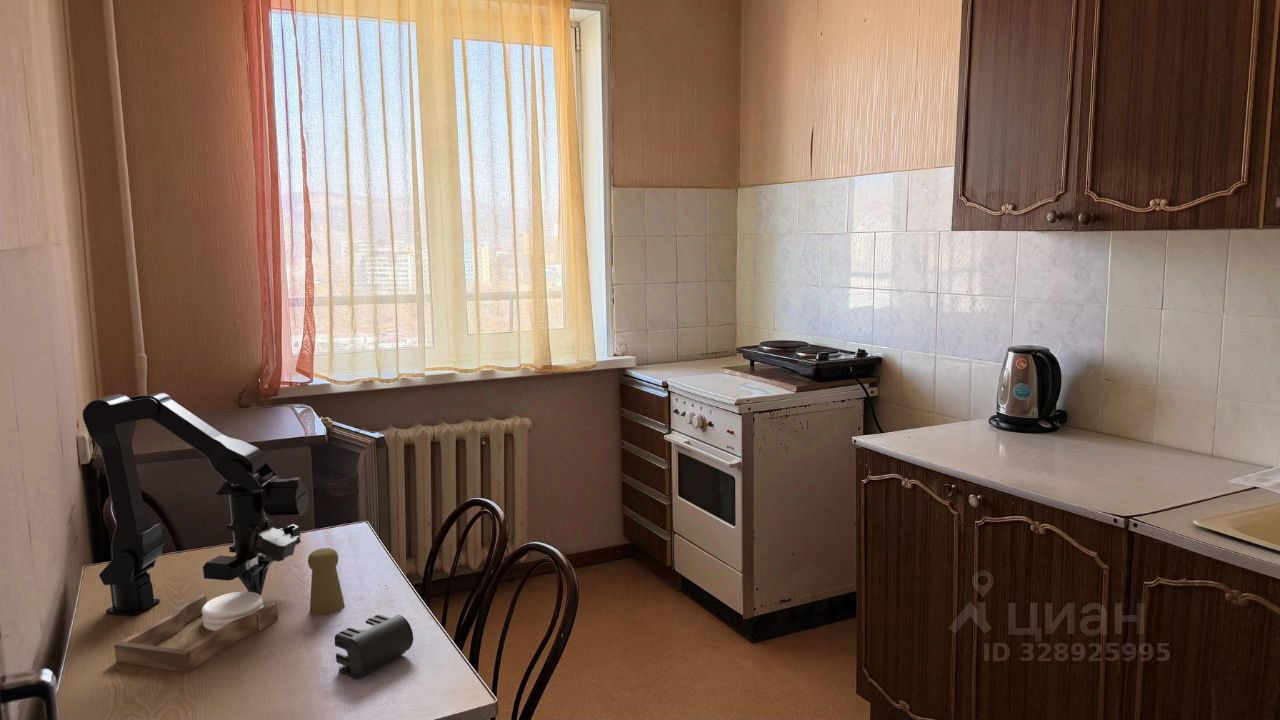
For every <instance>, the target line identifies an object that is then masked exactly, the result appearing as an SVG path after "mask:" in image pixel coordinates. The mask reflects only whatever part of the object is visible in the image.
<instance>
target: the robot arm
mask: <svg viewBox="0 0 1280 720" xmlns="http://www.w3.org/2000/svg"><path fill="white" fill-rule="evenodd" d="M82 419H83V420H82V421H83V423H84V425H85V427H86V430H87V433H88V435H89V437H90V438H91V439H92V440H93V442H94V443H95V444H96V445H97V446H98V447H99V449H100V452H101V455H102V460H103V466H104V470H105V471H104V472H105V476H106V479H107V480H106V481H107V485H108V490H109V495H110V500H111V503H112V505H111V506H112V510H113V515H114V519H115V529H114V533H113V536H112V540H111V561H110V562H108V564H107V565H106V566H105V567H104V569H103V570H102V571H101V572H100V573H99V579H100V580H101V582H102V584H103V585H104V586H106V585H107V586H110V595H111V604H112V606H111V607H108V608H106V609H105V613H106V614H114V615H122V616H128V617H129V616H130V617H131V616H132V617H133V616H135V615H138V614H139V613H141V612H144V611H145V610H147V609H149V608H151V607H153V606H155V605H157V604H159V603H160V602H161V600H160V598H155V596H154V589H153V582H152V581H151V574H150V572H149V573H148V571H149V570H151V569H153V568H154V567H155V564H156V561H157V559H159V558H160V556H161V555H162V553H163V552H164V551H163V549H164V548H163V547H164V545H166V541H165V539H164V537H163V536H164V535H163V530H162V529H163V528H162V524H161V523H156V524H153V523H152V522H151V521H150V520H149V519H148V517H147V514H146V509H145V504H144V498H143V494H142V490H141V484H140V479H139V474H138V468H137V464H136V463H137V462H136V458H135V454H134V449H133V437H134V434H135V430H136V427H137V421H139V420H144V419H145V420H146V419H150V420H151V421H154V422H155V423H157V424H158V425H159V426H161V427H162V428H164V429H165V430H167V431H168V432H170V433H171V434H173V435H174V436H176V437H177V438H178V439H180V440H181V441H183V442H184V443H185V444H187V445H188V446H190V447H191V448H193V449H195V450H196V451H197V452H199V453H200V454H202V455H203V456H204V457H205V458H206V459H208V461H209V464H210V465H211V467H212V469H213V471H215V472H216V473H218V475H220V477H221V478H222V479H223V480H225V481H224V482H223V484H222V486H220V488H219V489H218V490H217V491H216V492H215V494H216V496H228V499H229V510H230V518H231V523H229V524H227V525H226V530H227V531H228V532H232V537H233V544H232V545H231V546H229V547H228V548H229V553H233V554H235V555H234V556H230V555H218V556H216V557H214V558H212V559H211V560H208V561H206V563H205V564H204V565H203V566H202V573H203V579H207V580H217V581H219V580H220V581H234V580H235V579H237V578H238V579H239V580H240V581H241V583H242V584H243V586H244V588H245V589H246V590H247V592H255V593H258V594H259V595H261V596H262V593H263V588H264V586H265V581H266V578H267V577H266V576H267V573H268V571H269V568H270V566H271V565H272V564H273V563H274V562H281V561H284V560H285V559H286V558H287V557H289V556H292V555H294V552H295V550H296V546H297V545H299V544H301V543H302V540H301V531H300V527H299V525H296V524H294V523H292V524H290V525H287V526H286V527H285V528H282V527H281V528H275V526H274V521H273V520H272V518H271V517H286V516H287V517H290V516H304V515H305V514H306V513H307V510H308V506H309V498H310V497H309V496H310V495H309V491H308V490H307V487H306V485H305V484H304V483H303V479H302V477H301V476H300V477H299V476H298V477H297V476H295V477H292V478H280V475H279V474H278V473H277V472H276V470H274V469H273V467H272V466H271V465H270V464H269V463H268V462H267V460H266V459H265V454H264V452H263V451H262V450H261V449H260V448H258V447H257V446H255V445H252V444H250V443H248V442H246V441H244V440H242V439H241V440H240V439H238V438H233V437H230V436H227V435H225V434H223V433H222V432H220V431H218V430H217V429H215V428H214V427H213V426H211V425H209V423H207V422H205V421H204V420H203V419H202V418H199V417H198V416H196V415H195V414H194V413H192V412H191V411H189V410H188V409H186V408H185V407H183V406H182V405H180V404H179V403H178V402H176V401H175V400H173V399H172V397H171V396H170V395H169V394H167V393H165V392H156V393H153V394H144V395H143V394H142V395H136V396H130V397H128V396H127V395H125V394H121V393H115V394H111V395H107V396H105V397H101V398H98V399H94V400H92V401H90V402H89V403H87V404H86V406H85V407H84V408H83V411H82ZM256 476H259V477H258V478H256ZM266 515H268V516H270V518H269V517H266Z"/></svg>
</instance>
